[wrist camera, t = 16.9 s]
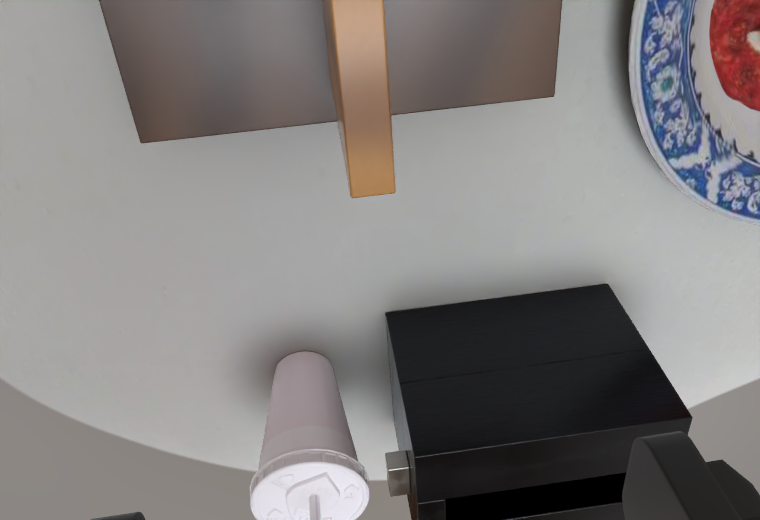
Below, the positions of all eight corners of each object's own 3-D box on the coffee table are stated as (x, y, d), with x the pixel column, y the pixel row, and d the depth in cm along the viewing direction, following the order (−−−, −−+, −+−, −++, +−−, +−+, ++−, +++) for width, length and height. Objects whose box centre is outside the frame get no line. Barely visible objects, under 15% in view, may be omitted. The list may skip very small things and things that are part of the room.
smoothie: (369, 348, 45) (401, 549, 33) (332, 415, 48) (351, 620, 37) (271, 324, 43) (271, 531, 31) (240, 397, 46) (229, 608, 34)
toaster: (376, 425, 49) (399, 574, 40) (365, 315, 43) (389, 461, 34) (590, 395, 50) (659, 534, 41) (608, 283, 44) (693, 417, 35)
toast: (304, -158, 27) (317, -121, 19) (345, -161, 27) (376, -126, 19) (331, 90, 33) (350, 199, 25) (365, 86, 33) (395, 193, 25)
